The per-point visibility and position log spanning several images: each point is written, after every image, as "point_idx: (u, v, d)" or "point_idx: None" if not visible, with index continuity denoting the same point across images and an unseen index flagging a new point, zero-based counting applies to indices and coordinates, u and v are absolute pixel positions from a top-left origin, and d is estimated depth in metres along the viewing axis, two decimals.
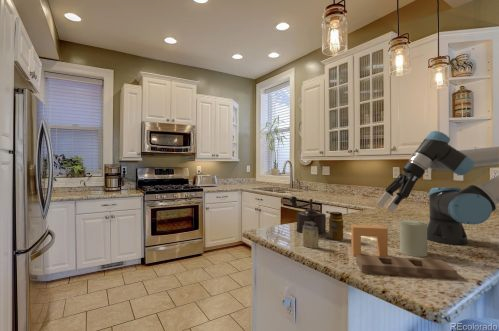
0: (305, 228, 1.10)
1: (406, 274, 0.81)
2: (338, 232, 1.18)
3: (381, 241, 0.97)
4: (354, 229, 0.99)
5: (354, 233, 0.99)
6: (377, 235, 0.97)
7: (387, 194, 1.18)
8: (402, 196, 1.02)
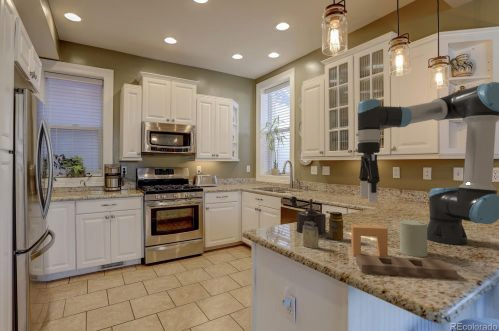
0: (305, 228, 1.10)
1: (406, 274, 0.81)
2: (338, 232, 1.18)
3: (381, 241, 0.97)
4: (354, 229, 0.99)
5: (354, 233, 0.99)
6: (377, 235, 0.97)
7: (363, 182, 1.06)
8: (374, 182, 0.91)
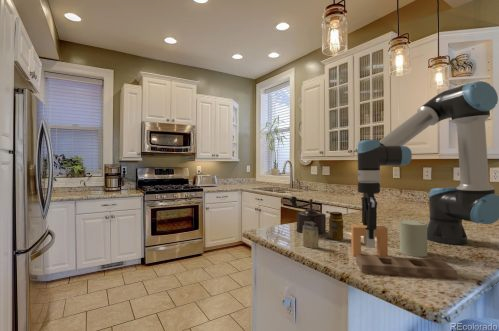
0: (305, 228, 1.10)
1: (406, 274, 0.81)
2: (338, 232, 1.18)
3: (381, 241, 0.97)
4: (354, 229, 0.99)
5: (354, 233, 0.99)
6: (377, 235, 0.97)
7: None
8: None
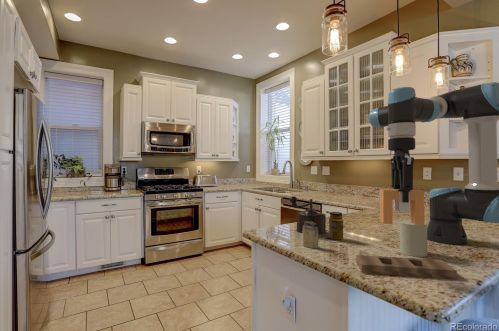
0: (305, 228, 1.10)
1: (406, 274, 0.81)
2: (338, 233, 1.18)
3: (417, 205, 0.83)
4: (384, 192, 0.85)
5: (384, 197, 0.85)
6: (412, 198, 0.83)
7: None
8: None
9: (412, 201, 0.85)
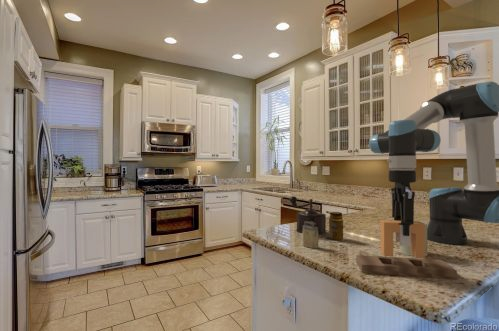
0: (305, 228, 1.10)
1: (406, 274, 0.81)
2: (338, 232, 1.18)
3: (417, 238, 0.83)
4: (385, 224, 0.84)
5: (385, 229, 0.84)
6: (413, 231, 0.83)
7: None
8: None
9: (413, 233, 0.85)
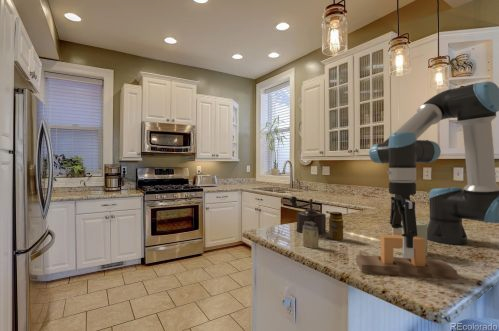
0: (305, 228, 1.10)
1: (406, 274, 0.81)
2: (338, 232, 1.18)
3: (418, 254, 0.83)
4: (385, 240, 0.84)
5: (385, 244, 0.84)
6: None
7: (396, 230, 0.90)
8: (410, 235, 0.78)
9: None
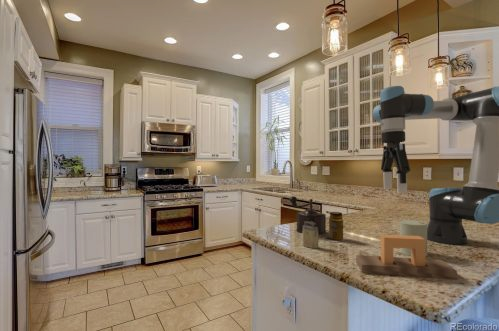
0: (305, 228, 1.10)
1: (406, 274, 0.81)
2: (338, 232, 1.18)
3: (418, 254, 0.83)
4: (385, 240, 0.84)
5: (385, 244, 0.84)
6: (413, 247, 0.83)
7: (387, 173, 1.02)
8: (404, 172, 0.87)
9: (413, 248, 0.85)
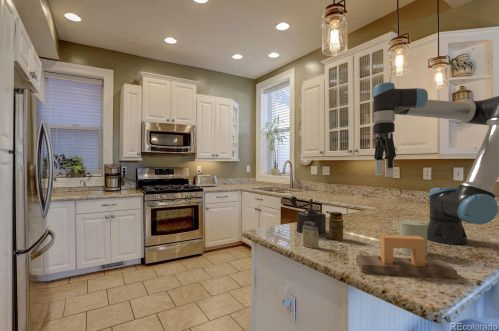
0: (305, 228, 1.10)
1: (406, 274, 0.81)
2: (338, 232, 1.18)
3: (418, 254, 0.83)
4: (385, 240, 0.84)
5: (385, 244, 0.84)
6: (413, 247, 0.83)
7: (378, 161, 1.14)
8: (391, 157, 0.99)
9: (413, 248, 0.85)
